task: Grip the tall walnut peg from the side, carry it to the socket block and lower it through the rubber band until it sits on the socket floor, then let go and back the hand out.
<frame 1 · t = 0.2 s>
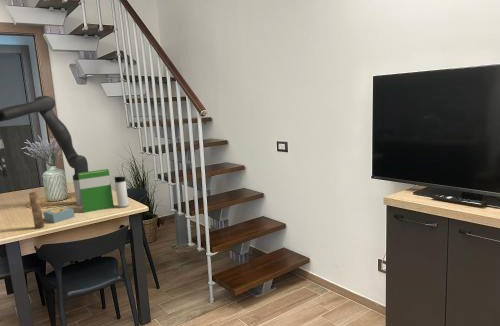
hand: (2, 176, 211), 29 cm above the table, tool pointing down, fingers open, 8 cm apart
peg: (39, 227, 207), on the table
socket block: (59, 218, 222), on the table
hardback book: (98, 208, 237), on the table
travel mug: (123, 206, 238), on the table
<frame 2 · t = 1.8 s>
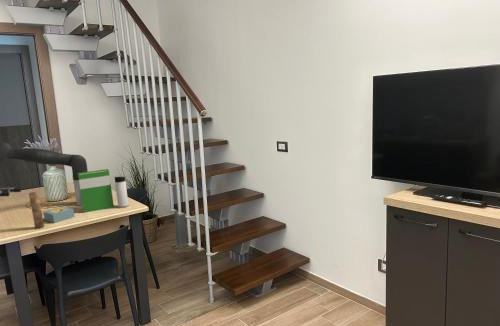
hand: (14, 192, 205), 21 cm above the table, tool horizontal, fingers open, 8 cm apart
nothing on the table moved.
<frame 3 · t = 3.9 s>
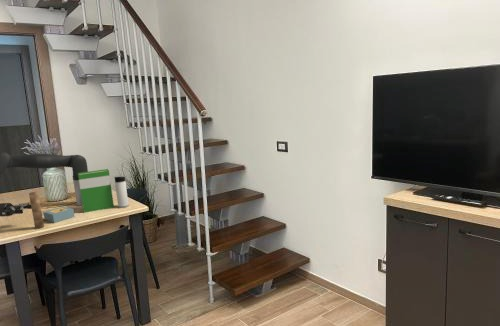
hand: (28, 208, 206), 11 cm above the table, tool horizontal, fingers open, 8 cm apart
nothing on the table moved.
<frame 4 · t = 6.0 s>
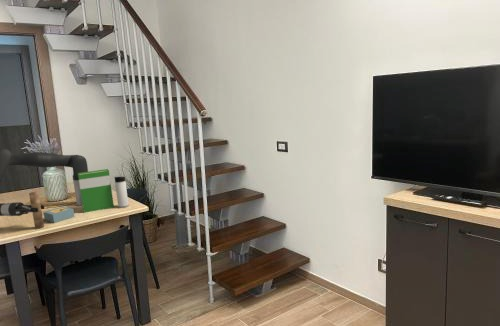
hand: (40, 208, 205), 11 cm above the table, tool horizontal, fingers closed on peg, 4 cm apart
peg: (39, 227, 207), on the table, touching gripper
everything else where it was.
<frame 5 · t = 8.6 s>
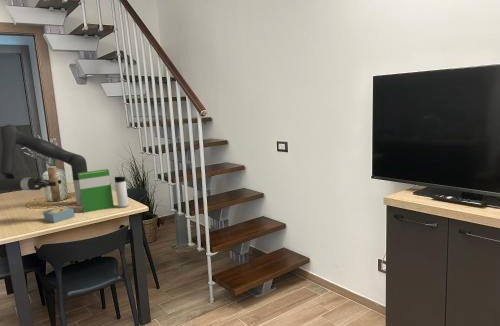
hand: (58, 182, 217), 22 cm above the table, tool horizontal, fingers closed on peg, 4 cm apart
peg: (56, 201, 220), point 11 cm above the table, touching gripper
everything else where it was.
when the fingers open (12 cm above the table, at t = 11.4 s): peg stays where it is, resting on socket block.
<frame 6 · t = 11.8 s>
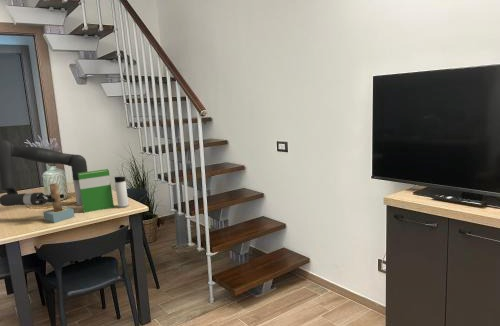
hand: (59, 198, 219), 13 cm above the table, tool horizontal, fingers open, 8 cm apart
peg: (59, 216, 222), point 1 cm above the table, touching socket block
everything else where it was.
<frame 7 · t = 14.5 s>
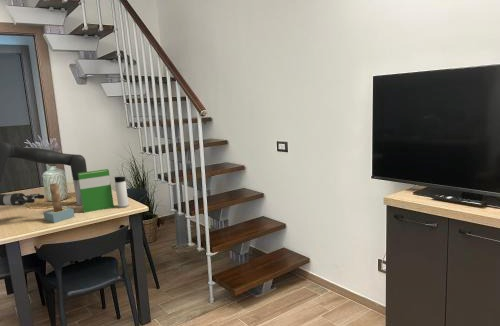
hand: (39, 198, 221), 13 cm above the table, tool horizontal, fingers open, 8 cm apart
nothing on the table moved.
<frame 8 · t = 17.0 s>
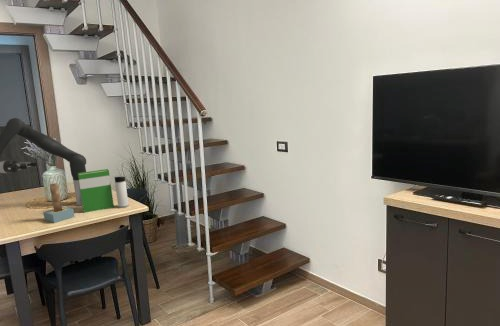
hand: (31, 165, 222), 32 cm above the table, tool horizontal, fingers open, 8 cm apart
nothing on the table moved.
at the end: peg 0.1 cm off-centre on the socket block, point 1.0 cm above the socket block's base; peg tilted 0°; the gripper is holding nothing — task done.
